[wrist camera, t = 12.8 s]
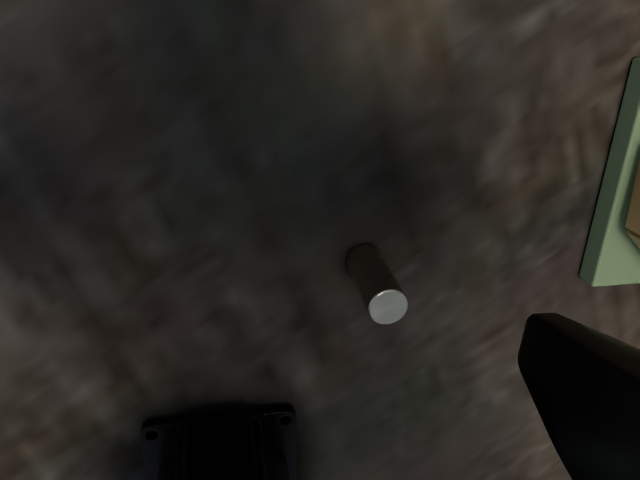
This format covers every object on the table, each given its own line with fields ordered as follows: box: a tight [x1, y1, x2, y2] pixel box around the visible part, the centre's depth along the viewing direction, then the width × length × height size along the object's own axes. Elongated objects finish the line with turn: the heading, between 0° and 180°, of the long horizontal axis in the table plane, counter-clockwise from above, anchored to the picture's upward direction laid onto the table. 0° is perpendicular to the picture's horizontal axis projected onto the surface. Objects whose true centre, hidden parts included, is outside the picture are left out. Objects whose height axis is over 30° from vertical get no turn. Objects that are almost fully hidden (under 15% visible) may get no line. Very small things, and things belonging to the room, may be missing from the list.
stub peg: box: [347, 244, 408, 325], centre depth 20 cm, size 1×1×4 cm
